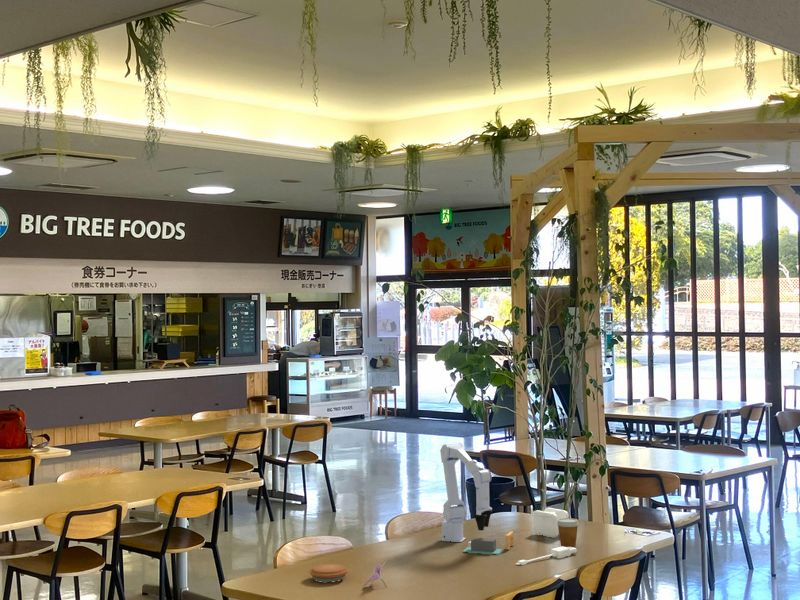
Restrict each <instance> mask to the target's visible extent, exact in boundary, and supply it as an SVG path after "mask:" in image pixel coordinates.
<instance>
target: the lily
mask: <svg viewBox="0 0 800 600" xmlns="http://www.w3.org/2000/svg"><path fill="white" fill-rule="evenodd" d="M386 563H387V561H385V562H383V564H381V562H378V563H377V565H376V566H375V568H374V569H373V571H372V573H371V574H372V575H370V577H369V578H368V579H367V581H366V582H365V583H364V584H363V587H364V586H367V585H368V583H369V582H370V583H372V584H373V583H374V582H375V580H381V582H383V584H384V586H385V588H388V586H387V585H386V583H385V581H384V579H382V577H381V575H382V573H381V572H382V570H383V567H384V565H385V564H386ZM380 564H381V565H380Z"/></svg>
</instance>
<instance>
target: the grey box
mask: <svg viewBox="0 0 800 600" xmlns="http://www.w3.org/2000/svg"><path fill="white" fill-rule="evenodd" d="M467 543H468V544H467V547H471V551H482V552H494V551H495V550H496V549H497V539H496V538H495V539H494V538H483V537H482V538H480V537H473V538H471V540H470V541H468V542H467Z"/></svg>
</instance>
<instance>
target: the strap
mask: <svg viewBox="0 0 800 600" xmlns="http://www.w3.org/2000/svg"><path fill="white" fill-rule="evenodd" d="M514 533H515V531H509V532H508V533H506V534H505V550H511V546H512V547H514V545H515V538H514V537H515V535H514Z"/></svg>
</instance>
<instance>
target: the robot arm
mask: <svg viewBox="0 0 800 600" xmlns="http://www.w3.org/2000/svg"><path fill="white" fill-rule="evenodd" d="M439 451H440V459H441V463H442V466H443V472H444V481H445V487H446V495H447V496H446V497H447V500H446V501H445V502H444V503H443V505H442V507H443V508H442V509H443V510H442V516H443V518H444V520H443V521H442V523H441V541H442V542H450V541H451V542H455V543H462V542H463V541H465V540H466V539H467V538H466V537H464V521H465V519H466V518H467V516H468V515H467V514H468V513H467V508H466V506H465V502H464V501H463V500H462V499H460V495H459V487H458V481H457V472H456V463H457V462H459V461H461V462H462V463H463V464H465V469H466V470H467V471H468V472H469V474H470V475H471V476H472V478H473V482H474V486H475V490H476V491H475V494H476V496H475V497H476V498H475V499H476V500H475V501H476V502H475V503H476V505H475V506H476V507H475V509H476V511H475V512H476V513H473V517H474V520H475V522H476V525H477V526H476V527H477V529H478V531H484V529H485V528H488V527H489V524H490V518H491V516H492V513H493V508H492V507H491V506H490V482H492V478H493V477H492V476H493V475H492V472H491V471H490V469H488V468H484V467H483V466H482V465H481V464H480V463H479V462H478V460H476V459H472V458H471V457H470V455H469V454H468V453H467V452H466V447H465V445H464V444H463V443H461V442H459V443H451V444H448V443H447V444H446V443H445V444H442V445H441V448H440V450H439ZM451 542H450V543H451Z"/></svg>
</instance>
